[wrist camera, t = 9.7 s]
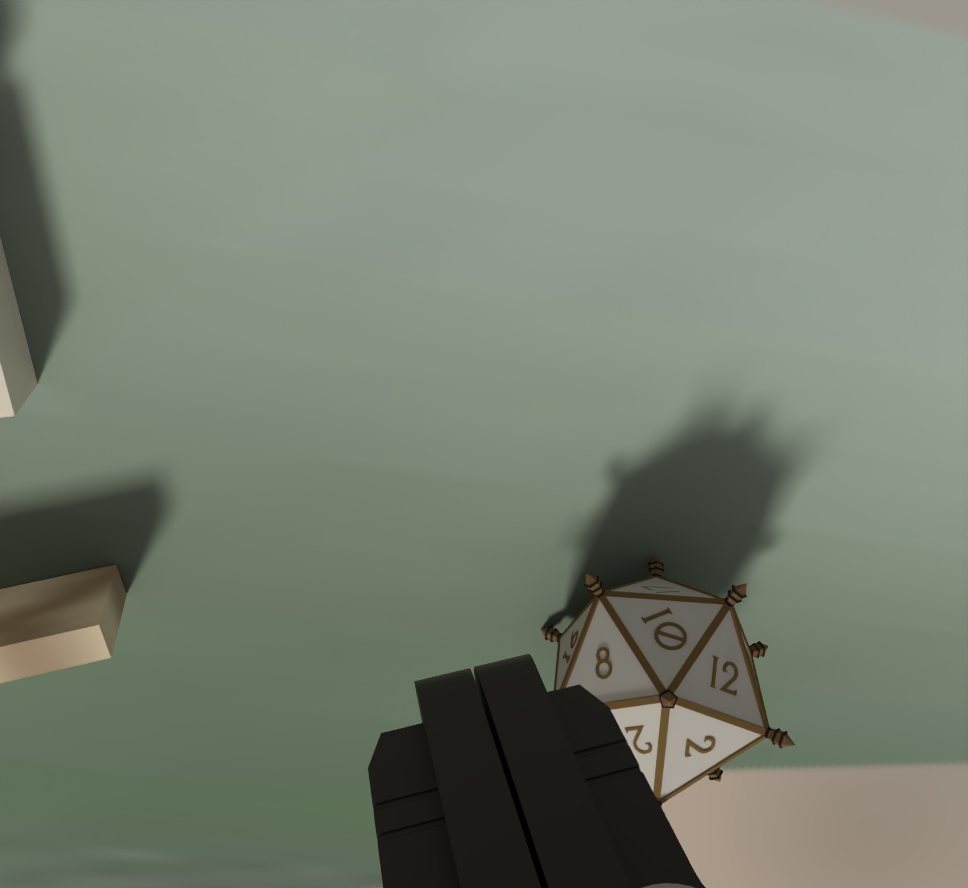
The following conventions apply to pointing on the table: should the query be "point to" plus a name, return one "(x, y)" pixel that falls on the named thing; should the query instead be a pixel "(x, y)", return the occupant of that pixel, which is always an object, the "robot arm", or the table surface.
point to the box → (59, 622)
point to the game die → (669, 675)
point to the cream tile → (12, 349)
